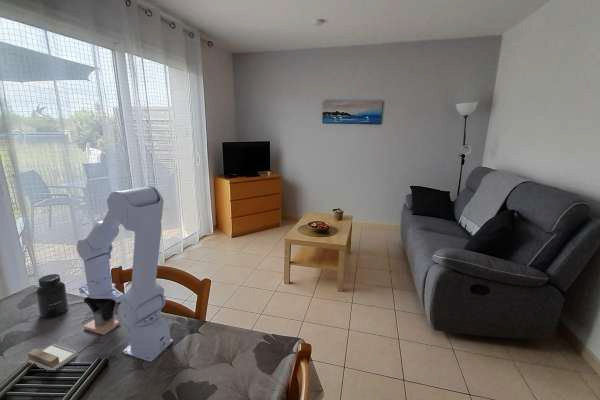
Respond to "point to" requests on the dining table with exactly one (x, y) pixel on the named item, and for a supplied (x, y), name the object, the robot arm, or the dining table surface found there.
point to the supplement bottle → (51, 296)
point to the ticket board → (59, 354)
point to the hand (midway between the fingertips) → (104, 317)
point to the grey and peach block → (101, 324)
